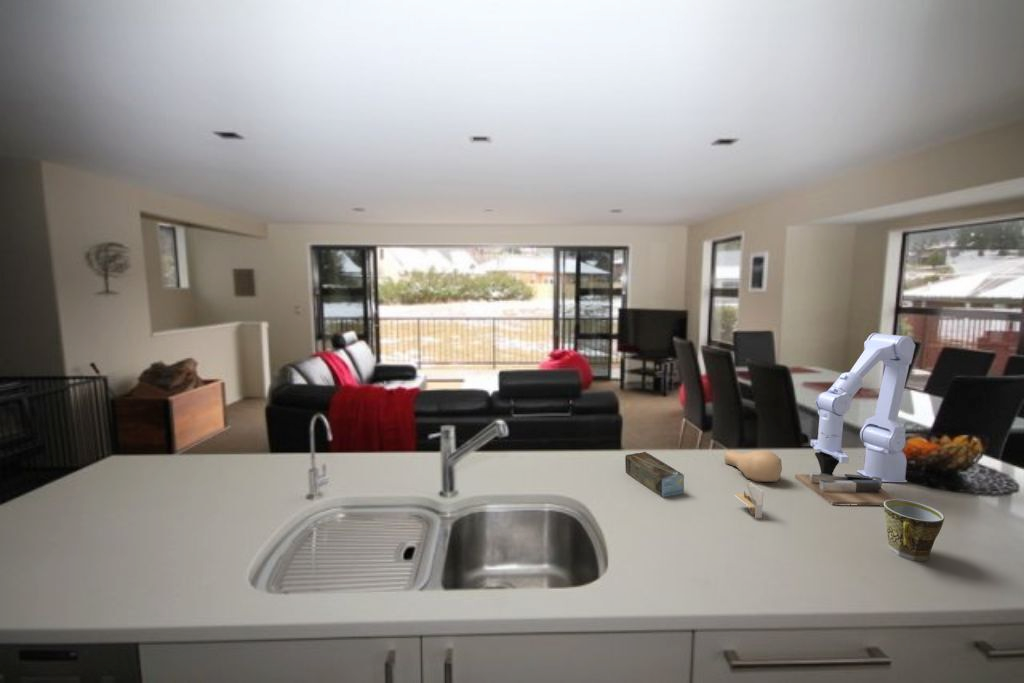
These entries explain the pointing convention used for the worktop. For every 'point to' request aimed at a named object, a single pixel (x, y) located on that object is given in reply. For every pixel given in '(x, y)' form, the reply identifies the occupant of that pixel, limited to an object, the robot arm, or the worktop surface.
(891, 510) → the ceramic cup
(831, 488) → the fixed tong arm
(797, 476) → the board
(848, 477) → the bar
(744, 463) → the squash
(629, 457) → the beverage carton
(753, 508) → the architectural model
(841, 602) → the worktop surface
